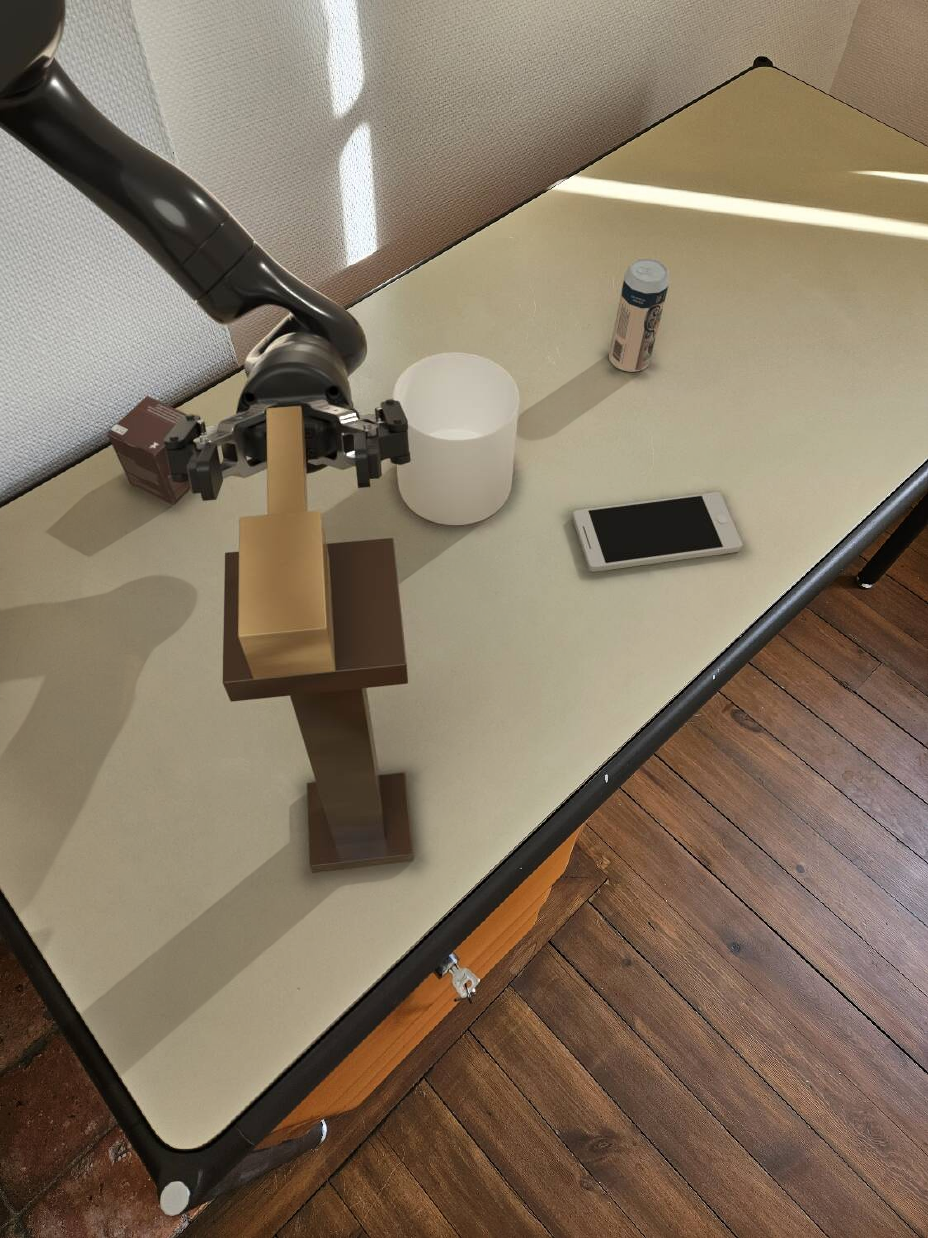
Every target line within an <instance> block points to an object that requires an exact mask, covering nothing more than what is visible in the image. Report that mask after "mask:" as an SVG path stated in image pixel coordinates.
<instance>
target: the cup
mask: <svg viewBox="0 0 928 1238" xmlns="http://www.w3.org/2000/svg"><path fill="white" fill-rule="evenodd" d="M391 397H392V399H393V400H395V401H399V402H400V404H401V407H402V409H403V411H404V414H405V416H406V418H407V420H408V442H409V451H410V457H411V461H410V462H409V463H406V464H403V465H397V464H396V475H397V484H398V485H397V486H398V491H399V494H400V496H401V499H402V500H403V502H404V503H405V504H406V506H407V507H408V508H409V509H410V510H411V511H413V513H415V514H416V515H417V516H419V517H421V518H423V519H424V520H427V521H430V522H432V523H436V524H439V525H444V526H445V525H446V526H465V525H471V524H475V523H478V522H481V521H484V520H486V519H488V518H489V517H491V516H493V515H494V514H496V513H497V512H498V511H499V510H500V509H501V508H502V507H503V506H504V504H505V503H506V502H507V500H508V499H509V496H510V493H511V491H512V484H513V473H514V462H515V452H516V440H517V431H518V430H517V429H518V420H519V419H518V417H519V410H520V409H519V408H520V392H519V387H518V385H517V383H516V381H515V380H514V378H513V377H512V375H510V373H509V372H508V371H507V370H506V369H505V368H503V367H502V366H501V365H499V364H498V363H497V362H495V361H493V360H491V359H489V358H487V357H484V356H481V355H477V354H474V353H468V352H444V353H436V354H432V355H430V356H426V357H424V358H422V359H420V360H418V361H416V362H414V363H412V364H411V365H410V366H409V367H407V368H406V369H405V370H403V372H402V373H401V374H400V376H399V377H398V378H397V380H396V383H395V384H394V385H393V390H392V396H391Z"/></svg>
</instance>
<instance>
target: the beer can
mask: <svg viewBox="0 0 928 1238" xmlns="http://www.w3.org/2000/svg"><path fill="white" fill-rule="evenodd" d="M670 278H671V277H670V274H669V271H668V267H667V266H666V265H665V264H663V262H661V261H660V260H657V259H653V258H650V257H648V258H637V259H636V260H635V261H634V262H632V263H630V265H629V266H628V267H627V268H626V270H625V271H624V274H623V281H622V286H621V287H622V288H621V291H620V297H619V302H618V307H617V313H616V318H615V322H614V328H613V333H612V338H611V343H610V349H609V352H608V359H609V362H610V363H611V364H612V366H614V367H615V368H616V369H618V370H621V371H624V372H627V373H629V372H630V373H631V372H633V373H636V372H639V371H643V370H645V369H646V368H647V367H648V366H649V365H650V363H651V358H652V355H653V350H654V347H655V342H656V338H657V334H658V330H659V326H660V322H661V318H662V313H663V311H664V310H663V309H664V307H665V306H664V305H665V301H666V298H667V294H668V290H669V285H670V282H671V280H670Z"/></svg>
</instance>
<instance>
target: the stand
mask: <svg viewBox="0 0 928 1238" xmlns="http://www.w3.org/2000/svg"><path fill="white" fill-rule="evenodd" d="M327 549H328V554H329V564H330V581H331V599H332V616H333V634H334V651H335V671H332V672H322V673H312V674H302V675H292V676H282V677H272V678H262V679H254V678H253V676H252V673H251V670H250V668H249V665H248V662H247V659H246V657H245V654H244V651H243V648H242V646H241V643H240V640H239V637H238V600H239V550H238V551H229V552H228V551H227V552H225V553H224V586H223V588H224V591H223V634H222V635H223V636H222V640H223V641H222V685H223V687H224V689H225V692H226V694H227V697H228V700H229V701H230V702H242V701H251V700H252V701H253V700H262V699H271V698H280V697H281V698H282V697H290V701H291V704H292V707H293V710H294V714H295V717H296V721H297V724H298V727H299V730H300V734H301V738H302V740H303V744H304V747H305V750H306V754H307V758H308V760H309V763H310V766H311V767H310V768H311V770H312V773H313V777H314V780H315V781H311V782H307V783H306V794H307V795H306V797H307V825H308V853H309V868H310V870H311V873H313V874H314V873H315V874H316V873H324V872H333V871H341V870H348V869H349V870H350V869H357V868H359V869H360V868H366V867H374V866H383V865H391V864H392V865H393V864H400V863H408V862H414V859H415V858H414V849H413V840H412V829H411V819H410V818H411V817H410V808H409V798H408V789H407V788H408V787H407V780H406V777H407V776H406V772H405V771H401V772H393V773H384V774H380V771H379V769H380V768H379V761H378V756H377V747H376V743H375V736H374V730H373V729H374V728H373V723H372V722H373V721H372V716H371V709H370V702H369V695H368V689H369V688H379V687H388V686H389V687H391V686H399V685H408V684H409V675H408V662H407V651H406V643H405V634H404V626H403V625H404V624H403V623H404V622H403V616H402V615H403V614H402V606H401V605H402V604H401V596H400V588H399V577H398V569H397V568H398V567H397V558H396V551H395V540H394V538H393V537H386V538H377V539H376V538H375V539H366V540H364V539H363V540H353V541H343V542H341V541H340V542H330V543H327Z"/></svg>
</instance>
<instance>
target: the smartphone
mask: <svg viewBox="0 0 928 1238" xmlns="http://www.w3.org/2000/svg"><path fill="white" fill-rule="evenodd" d="M572 522H573V524H574V525H573V526H574V527H575V530H576V534H577V537H578V540H579V544H580V547H581V550H582V554H583V556H584V559H585V562H586V566H587V568H588V571H589V572H596V573H597V572H604V571H609V570H618V569H624V568H632V567H639V566H646V565H647V566H648V565H653V564H659V563H667V562H674V561H682V560H689V559H697V558H703V557H711V556H717V555H725V554H731V553H738V552H740V551H741V550H742V548H743V541H742V539H741V537H740V535H739V532H738V530H737V528H736V525H735V523H734V521H733V519H732V517H731V513H730V512H729V510H728V507H727V505H726V502H725V500H724V497H723V495H722V493H720V492H719V491H718V492H717V491H715V492H714V491H713V492H705V493H697V494H690V495H682V496H675V497H667V498H659V499H653V500H645V501H638V502H629V503H621V504H614V505H607V506H606V505H605V506H598V507H590V508H584V509H583V508H582V509H576V510H574V511H573V512H572Z"/></svg>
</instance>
